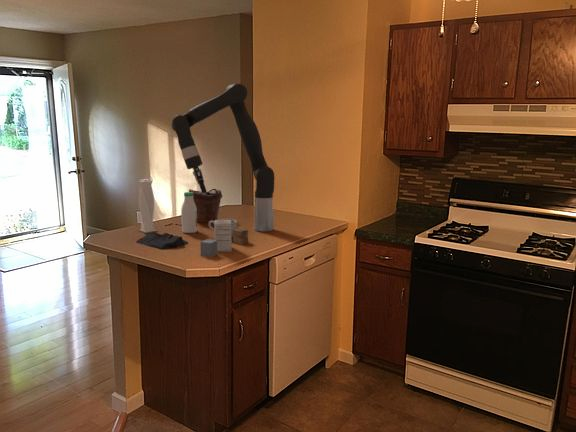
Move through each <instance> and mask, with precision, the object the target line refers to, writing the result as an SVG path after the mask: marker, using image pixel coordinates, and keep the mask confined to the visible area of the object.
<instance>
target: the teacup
mask: <svg viewBox="0 0 576 432" xmlns="http://www.w3.org/2000/svg"><path fill="white" fill-rule="evenodd" d="M217 220H231V238H233V230H235V229H238V228H237V225H238V224H237V222H238V220H236V219H234V218H217ZM214 222H215V221H210V222H208V224H207V225H208V227H209V229H210V230H211V231H212V232H214V227H212V224H214Z"/></svg>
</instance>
